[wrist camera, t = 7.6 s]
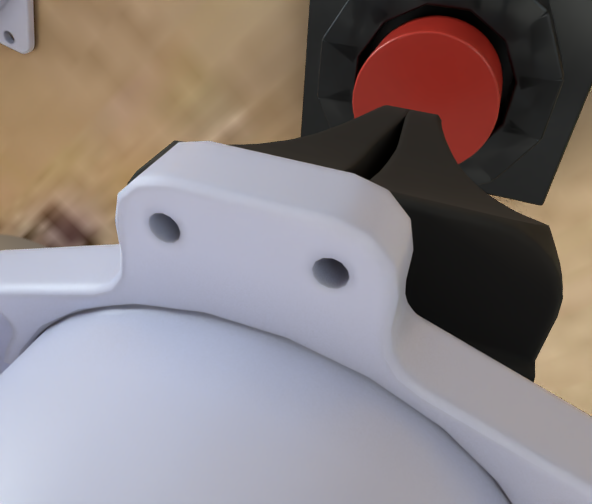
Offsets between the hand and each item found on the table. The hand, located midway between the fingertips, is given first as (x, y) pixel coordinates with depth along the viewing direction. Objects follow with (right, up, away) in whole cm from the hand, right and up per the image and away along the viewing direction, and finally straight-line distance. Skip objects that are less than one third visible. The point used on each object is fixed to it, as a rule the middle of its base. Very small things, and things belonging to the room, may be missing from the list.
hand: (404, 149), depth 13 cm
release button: (+2, +3, +3) cm, 4 cm away
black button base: (+2, +4, +5) cm, 7 cm away
